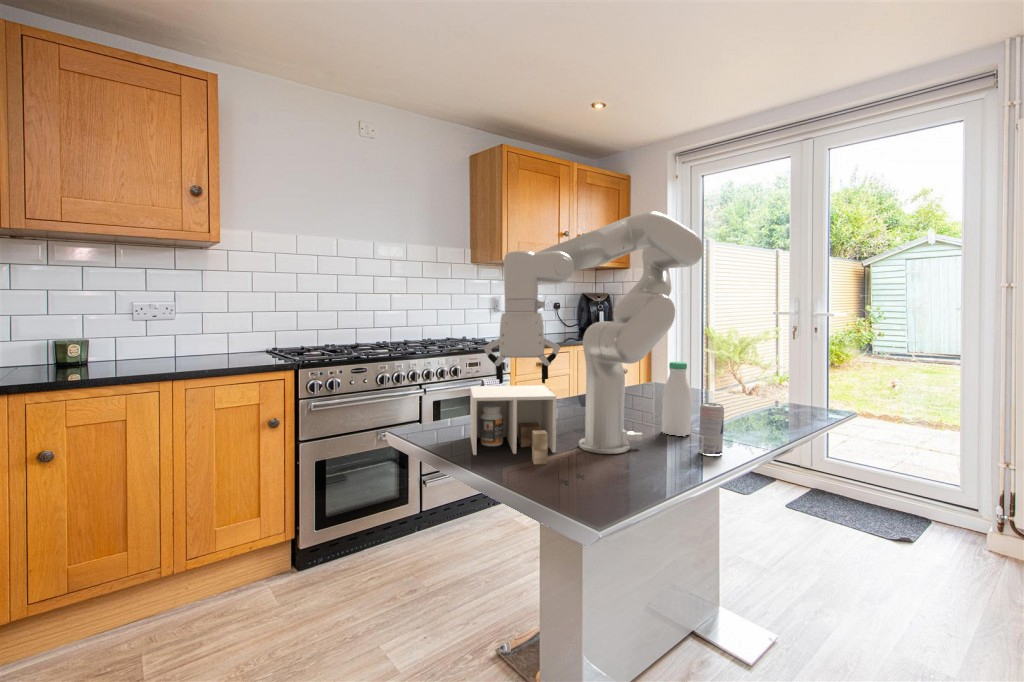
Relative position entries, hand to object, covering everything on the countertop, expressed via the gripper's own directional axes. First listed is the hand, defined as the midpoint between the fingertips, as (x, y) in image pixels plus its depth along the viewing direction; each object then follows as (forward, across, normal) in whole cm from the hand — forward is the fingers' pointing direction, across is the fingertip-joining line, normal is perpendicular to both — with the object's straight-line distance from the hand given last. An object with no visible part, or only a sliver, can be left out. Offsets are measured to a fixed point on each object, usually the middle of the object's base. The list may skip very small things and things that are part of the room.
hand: (522, 382), depth 117 cm
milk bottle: (+19, -42, -26) cm, 53 cm away
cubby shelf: (+18, +4, -13) cm, 23 cm away
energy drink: (+19, -45, -8) cm, 50 cm away
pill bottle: (+18, +8, -13) cm, 24 cm away
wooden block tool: (+18, -2, -7) cm, 20 cm away
